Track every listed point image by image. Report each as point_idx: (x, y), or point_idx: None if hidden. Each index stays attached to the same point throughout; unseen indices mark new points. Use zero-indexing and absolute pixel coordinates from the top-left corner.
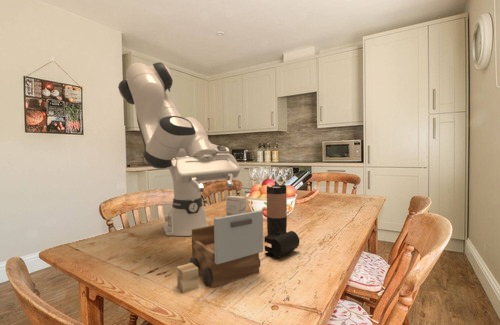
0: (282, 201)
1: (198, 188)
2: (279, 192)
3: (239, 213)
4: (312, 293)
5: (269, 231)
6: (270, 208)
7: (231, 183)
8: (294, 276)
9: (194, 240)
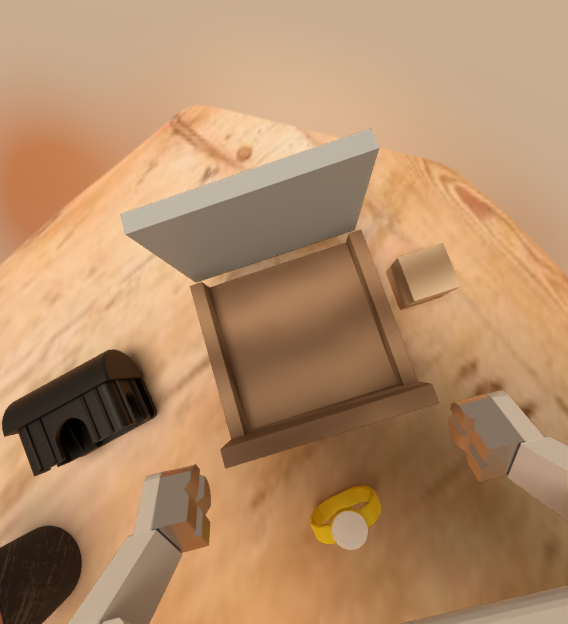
0: None
1: (508, 401)
2: None
3: None
4: (150, 177)
5: (57, 574)
6: None
7: (158, 485)
8: (146, 256)
9: (413, 382)
